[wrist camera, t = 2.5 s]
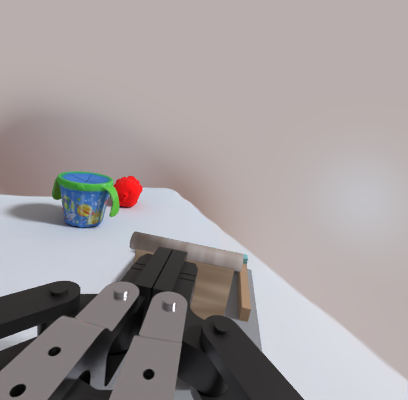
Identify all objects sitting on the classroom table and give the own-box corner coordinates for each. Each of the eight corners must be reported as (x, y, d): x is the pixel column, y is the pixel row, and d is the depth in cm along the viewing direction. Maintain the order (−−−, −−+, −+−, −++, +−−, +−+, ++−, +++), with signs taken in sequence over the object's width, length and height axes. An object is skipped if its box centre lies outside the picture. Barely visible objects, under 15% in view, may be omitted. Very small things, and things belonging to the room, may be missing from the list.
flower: (103, 188, 65) (110, 180, 72) (114, 214, 67) (120, 204, 75) (132, 179, 65) (137, 172, 72) (142, 206, 67) (146, 197, 75)
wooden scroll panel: (210, 398, 23) (243, 259, 19) (116, 374, 24) (130, 235, 20) (217, 315, 34) (240, 215, 30) (152, 300, 34) (166, 200, 31)
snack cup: (128, 226, 58) (132, 182, 55) (91, 240, 48) (94, 189, 45) (78, 207, 63) (80, 167, 60) (36, 217, 54) (36, 170, 51)
